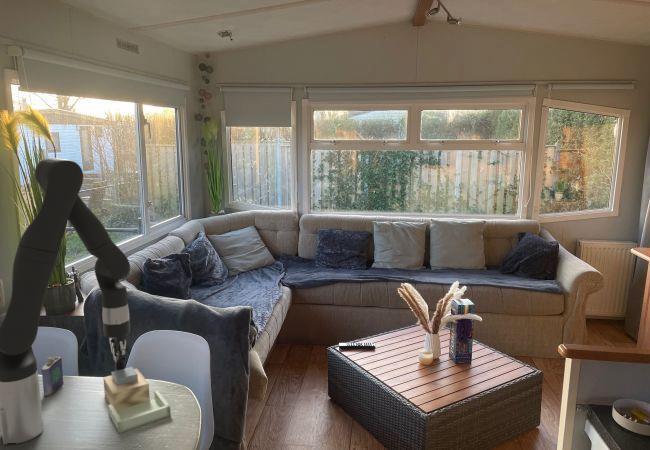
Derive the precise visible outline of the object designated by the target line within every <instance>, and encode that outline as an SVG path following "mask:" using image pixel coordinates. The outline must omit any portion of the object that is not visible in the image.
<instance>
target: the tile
mask: <svg viewBox="0 0 650 450" xmlns="http://www.w3.org/2000/svg"><path fill="white" fill-rule="evenodd" d="M134 369H135V368H134V367H133V366H130V367H124V369H121V370H117V371H116V370H114V371H111V372H110V373H111V375H112V379H113V381H114V382H115V384H116V385H117V386H119V385H122V384H126V383H130V382H133V381H137V380H138V374H137V373H136V371H135V370H134Z"/></svg>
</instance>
